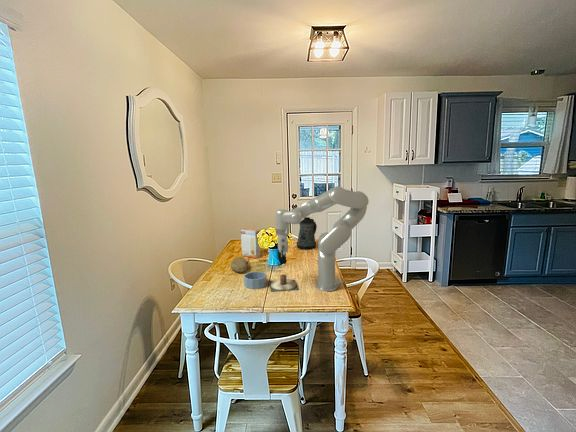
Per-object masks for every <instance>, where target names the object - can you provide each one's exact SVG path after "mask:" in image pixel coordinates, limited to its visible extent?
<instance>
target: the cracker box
mask: <svg viewBox="0 0 576 432" xmlns="http://www.w3.org/2000/svg"><path fill="white" fill-rule="evenodd" d="M259 232H260V233H261V231H260V229H254V228H253V229H252V228H243V229H242V228H241V230H240V233H241V234H240V242H241V257H244V258H245V257H246V258H249V259H251V258H252V259H258V258H261V245H260V246H259V244H258V239H257V234H258V233H259Z"/></svg>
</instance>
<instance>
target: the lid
mask: <svg viewBox="0 0 576 432" xmlns="http://www.w3.org/2000/svg"><path fill="white" fill-rule="evenodd" d="M293 280H294V279H288V278H287V274H280V275H279V279H276V280H272V281H273V282H271V288H273V289H275V290H279V291H280V292H287V291H286V290H291V289H294V288H295V287H296V283H297V281H296V280H295V281H296V282H295V281H293Z"/></svg>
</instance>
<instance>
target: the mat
mask: <svg viewBox="0 0 576 432" xmlns="http://www.w3.org/2000/svg"><path fill="white" fill-rule="evenodd" d="M292 280H293V281H295V282H296V287H295V288H294V289H291V290H286V291H285V292H289V291H290V292H291V291H294V292H295V291H300V288H299V286H298V283H297V281H296V279H292ZM273 281H274V280H270V281H269V280H268V284H269V289H270V293H277V292H281V291H279V290H275V289H273V288H271V282H273Z"/></svg>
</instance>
